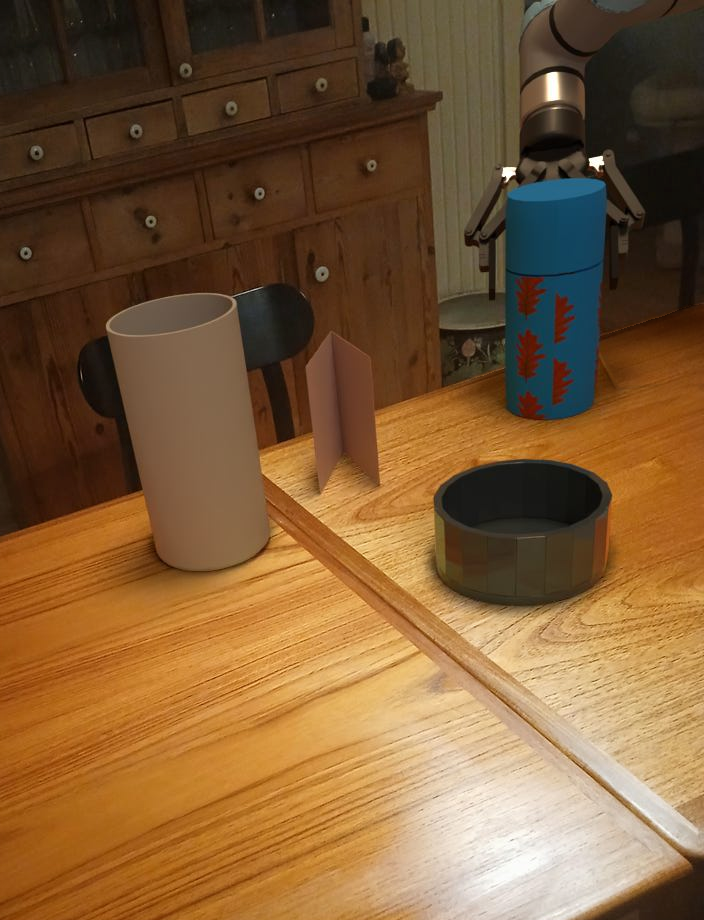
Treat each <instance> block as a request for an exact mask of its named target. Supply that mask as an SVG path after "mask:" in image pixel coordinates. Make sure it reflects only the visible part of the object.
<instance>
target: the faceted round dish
mask: <svg viewBox="0 0 704 920" xmlns="http://www.w3.org/2000/svg"><path fill="white" fill-rule="evenodd" d="M432 500H433V501H432V506H433V507H432V508H433V528H434V532H433V533H434V553H435V566H436V572H437V574H438V576H439V578H440V579H441V581H442V582H443V581H444V582H445V583H446V584H447V585H446V584H445V583H444V584H445V585H446V586H447V587H449V588H450V587H451V588H452V589H451V588H450V589H451V590H453V589H454V590H455V591H454V590H453V591H454V592H456V591H457V592H456V593H458V592H459V593H458V594H460V593H461V594H460V595H462V594H463V595H462V596H464V595H465V596H464V597H466V596H467V598H469V597H470V598H469V599H472V598H473V599H472V600H474V599H475V601H478V600H480V601H479V602H482V603H485V604H491V603H492V605H499V606H507V605H513V606H512V607H527V606H526V605H531V606H538V605H537V604H541V605H546V603H547V604H552V603H551V602H553V603H555V602H554V601H557V602H560V601H559V600H561V601H563V600H562V599H565V600H567V599H566V598H568V599H570V597H571V598H574V597H576V596H579V595H580V594H582V593H584V592H586V591H587V590H589V589H591V588H592V587H593V586H595V584H597V583H598V582H599V581H600V579H602V576H603V575H604V574H605V572H606V569H607V565H608V563H607V562H608V555H609V551H610V550H609V549H610V535H611V523H612V522H611V519H612V505H613V494H612V490H611V488H610V485H609V484H608V482H607V481H606V480H604V479H603V478H602V477H600V476H599V475H598V474H597V473H595V472H593V471H590V470H589V469H586V468H585V467H584V468H583V467H581V466H579V465H576V464H573V463H568V462H563V461H557V460H552V459H538V458H537V459H536V458H535V459H534V458H533V459H532V458H518V459H517V458H516V459H507V460H498V461H492V462H489V463H483V464H480V465H475V466H473V467H471V468H467V469H466V470H463V471H461V472H458V473H456V474H454V475H452V476H451V477H449V478H448V479H446V480H445V481H444V482H443V483H442V484H439V486H438V488H437V490H436V492H435V494H434V495H433V497H432ZM575 595H576V596H575ZM544 603H545V604H544Z"/></svg>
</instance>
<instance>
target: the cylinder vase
mask: <svg viewBox="0 0 704 920" xmlns="http://www.w3.org/2000/svg"><path fill="white" fill-rule="evenodd" d="M240 324H241V323H240V317H239V311H238V304H237V300H236V299H235V298H233V297H232V296H230V295H227V294H224V293H223V294H222V293H213V292H197V293H194V292H193V293H183V294H178V295H171V296H166V297H161V298H157V299H153V300H148V301H144V302H142V303H139V304H136V305H133V306H130V307H128V308H126V309H124V310H121V311H119V312H117V313H116V314H115V315H113V316H112V317H110V318H109V319H108V320H107V322H106V324H105V329H106V333H107V338H108V343H109V347H110V353H111V356H112V361H113V364H114V370H115V374H116V379H117V382H118V383H117V384H118V387H119V391H120V395H121V400H122V405H123V409H124V414H125V417H126V418H125V419H126V423H127V426H128V431H129V436H130V440H131V445H132V449H133V453H134V458H135V461H136V462H135V463H136V467H137V471H138V475H139V479H140V483H141V484H140V485H141V488H142V493H143V497H144V502H145V506H146V507H145V508H146V511H147V515H148V520H149V524H150V529H151V533H152V537H153V542H154V547H155V550H156V553H157V555H158V557H159V558H160V560H161V561H163V562H164V563H165V564H166V565H168V566H170V567H172V568H175V569H178V570H182V571H188V572H211V571H212V572H213V571H219V570H222V569H228V568H231V567H234V566H237V565H239V564H242V563H243V562H246V561H247V560H249V559H252V558H253V557H254V556H256V555H257V554H258V553H260V552H261V551H262V550H263V549H264V548H265V546H266V545H267V543H268V542H269V540H270V535H271V525H270V519H269V510H268V507H267V506H268V504H267V499H266V492H265V485H264V479H263V471H262V466H261V459H260V452H259V444H258V437H257V431H256V424H255V418H254V410H253V405H252V404H253V403H252V399H251V392H250V383H249V378H248V372H247V365H246V364H247V363H246V357H245V350H244V344H243V338H242V331H241V325H240Z"/></svg>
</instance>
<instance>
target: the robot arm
mask: <svg viewBox="0 0 704 920" xmlns="http://www.w3.org/2000/svg"><path fill="white" fill-rule="evenodd" d="M703 9H704V0H539V1H535V2H533V3H532V4H531V5H530V6H529V7H528V9H527V10H526V11H525V13H524V15H523V17H522V20H521V24H520V35H519V42H518V55H519V56H518V57H519V64H518V65H519V123H518V124H519V141H518V142H519V144H518V145H519V149H518V150H519V151H518V152H519V153H518V157H519V159H518V163H517V165H516V167H504V165H503V163H501V162H496V163H495V164H494V165H493V166H492V172H491V180H490V181H489V183H488V185H487V187H486V189H485V191H484V193H483V195H482V197H481V198H480V200H479V202H478V204H477V206H476V207H475V209H474V211H473V213H472V215H471V217H470V218H469V221H468V222H467V224H466V226H465V227H464V230H463V240H464V245H465V246H466V247H468V248H470V247H476V248H477V249H478V270H479V271H480V273H481V274H482V273H488V301H489V302H490V301H496V287H497V286H496V279H497V275H496V273H497V272H496V271H497V246H496V245H497V239H498V238H499V237H500V236H501V235H502V234H503V232H505V231H506V203H507V201H506V202H505V203H504V205H502V206H501V208H500V209H499V210H498V211H497V212H496V213H495V215H494V216H493V217H492V218H491V219H490V220H489V217H490V215H491V214H492V212H493V210H494V208H495V206H496V204H497V202H498V201H499V199H500V196H501V194H502V190H505V189H506V188H507V187H508V186H509V185H510V183H511V182H512V181H514V180H515V182H516V184H517V185H518V186H517V188H519V187H521V186H524V185H528V184H532V183H537V182H543V181H549V180H557V179H569V178H587V179H589V178H588V177H587V175H588V174H589V172H591V171H592V172H594V174H595V175H596V176H597V178H598V179H602V181H603V182H604V183H605V185H606V190H608V192H609V194H610V196H611V197H612V199H613V200H614V202H615V203H616V205H617V206H616V205H615V204H614V203H613V202H612V201H611V200H609V199H608V198H607V209H606V228H608V229H609V230H610V231H609V236H608V277H609V279H608V283H609V285H608V286H609V288H608V289H609V291H616V290H617V288H618V283H619V279H620V271H619V270H620V268H619V267H620V266H619V265H620V263H619V262H620V260H627V257H628V252H629V245H630V244H629V233H630V232H632V231H634V230H636V231H638V230H641V229H642V228H643V225H644V221H645V216H646V210H645V208H644V207H643V205H642V204H641V202H640V201H639V199H638V198H637V196H636V195H635V193H634V192H633V190H632V189H631V187H630V185H629V184H628V182H627V181H626V179H625V178H624V176H623V175H622V173H621V172H620V170H619V169H618V167H617V165H616V158H615V152H614V151H613V150H612V149H606V150H604V151H603V153H602V155H600V156H595V157H590V158H589V157H588V155H587V152H586V123H585V117H586V95H585V94H586V90H585V87H586V86H585V85H586V81H585V70H586V69H585V68H586V65H587V64H588V62H589V61H590V60H591V59H592V58H593V57H594V56H595V55H596V54H597V53H598V52H599V51H600V50H601V49H602V48H603V46H605V44H606V43H608V42H609V41H610V40H611V38H612V37H614V35H615V34H616V33H617V32H618V31H620V30H622V29H623V28H626V27H630V26H634V25H635V26H636V25H639V24H642V23H646V22H650V21H654V20H657V19H662V18H666V17H671V16H674V15H675V16H676V15H679V14H684V13H689V12H691V13H692V12H697V11H700V10H703ZM488 220H489V222H488V223H487V221H488Z"/></svg>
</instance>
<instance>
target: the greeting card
mask: <svg viewBox="0 0 704 920" xmlns="http://www.w3.org/2000/svg"><path fill="white" fill-rule="evenodd" d="M372 372H373V371H372V359H371V357H370V356H369V355H368V354H366V353H364V352H363V351H361V350H360V349H359V348H357V347H356V346H354V345H353V344H352V343H350V342H349V341H347V340H345V339H344V338H342V337H341V336H339V335H338V334H337V333H335V332H334V331H333V330H330V331H329V333H328V334H327V336H326V337H325V338H324V340H323V341H322V342H321V344H320V345H319V347H318V348H317V350H316V351H315V352H314V354H313V356H312V357H311V358H310V359H309V361H308V363H307V364H306V366H305V376H306V385H307V394H308V402H309V403H308V404H309V411H310V418H311V419H310V420H311V429H312V435H313V447H314V455H315V456H314V457H315V462H316V471H317V480H318V481H317V482H318V488H319V489H318V490H319V495H321V494H322V492H323V491H324V489H325V487H326V486H327V485H326V484H327V483H328V481H329V479H330V477H331V475H332V473H333V471H334V470H335V468H336V466H337V464H338V462H339V460H340V458H341V456H342V454H343V453H344V454H345V455H346V456H347V457H348V458H349V459H350V460H351V461H352V462H353V463H354V464H355V465H356V466H357V467H359V468H360V469H361V470H362V471H363V473H365V474H366V475H367V476H368V477H369V478H370V479H372V480H373V481H374V482H375V483H376V484H377V485H378V486H379V487H381V476H380V475H381V474H380V462H379V461H380V460H379V449H378V438H377V425H376V411H375V410H376V409H375V397H374V386H373V385H374V384H373V383H374V382H373V373H372ZM342 452H343V453H342Z"/></svg>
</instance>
